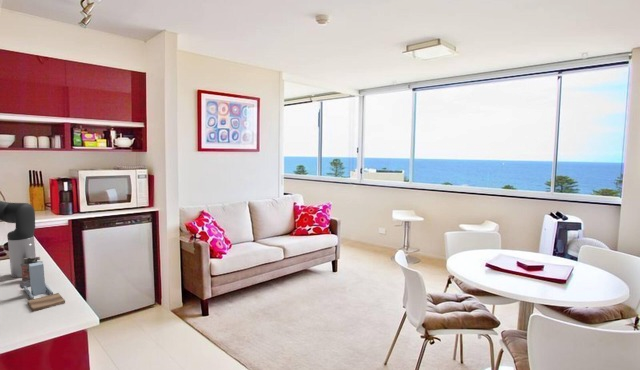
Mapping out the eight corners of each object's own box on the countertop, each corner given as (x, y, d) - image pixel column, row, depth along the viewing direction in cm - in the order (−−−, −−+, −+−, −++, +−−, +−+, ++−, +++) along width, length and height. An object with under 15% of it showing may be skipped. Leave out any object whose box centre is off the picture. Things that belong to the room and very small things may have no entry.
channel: (24, 289, 148) (24, 286, 148) (44, 284, 153) (43, 281, 152) (32, 301, 137) (32, 297, 137) (53, 295, 142) (53, 292, 142)
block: (31, 292, 145) (28, 264, 143) (43, 289, 148) (41, 261, 146) (33, 295, 142) (30, 266, 141) (45, 292, 145) (43, 264, 144)
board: (27, 303, 135) (27, 300, 135) (58, 295, 142) (58, 292, 142) (33, 311, 129) (33, 308, 129) (65, 302, 136) (65, 300, 136)
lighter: (20, 281, 157) (18, 259, 155) (24, 278, 160) (22, 256, 159) (41, 279, 159) (39, 257, 158) (45, 276, 162) (43, 255, 161)
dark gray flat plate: (20, 284, 153) (20, 283, 153) (40, 279, 158) (40, 279, 158) (22, 288, 149) (22, 287, 149) (43, 283, 154) (43, 282, 154)
